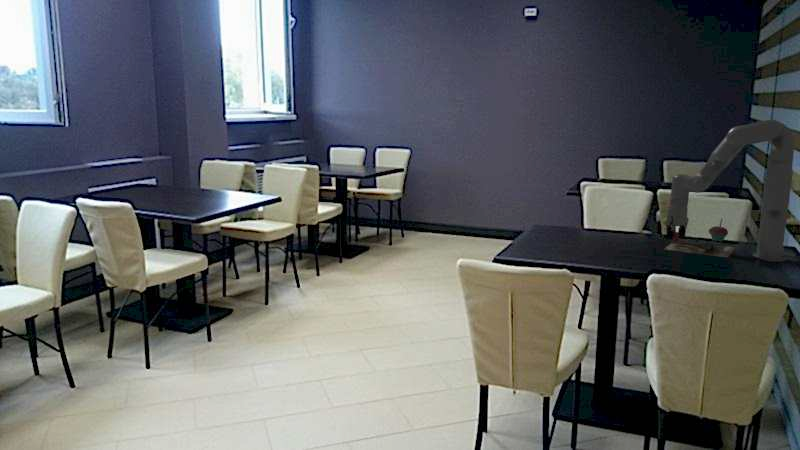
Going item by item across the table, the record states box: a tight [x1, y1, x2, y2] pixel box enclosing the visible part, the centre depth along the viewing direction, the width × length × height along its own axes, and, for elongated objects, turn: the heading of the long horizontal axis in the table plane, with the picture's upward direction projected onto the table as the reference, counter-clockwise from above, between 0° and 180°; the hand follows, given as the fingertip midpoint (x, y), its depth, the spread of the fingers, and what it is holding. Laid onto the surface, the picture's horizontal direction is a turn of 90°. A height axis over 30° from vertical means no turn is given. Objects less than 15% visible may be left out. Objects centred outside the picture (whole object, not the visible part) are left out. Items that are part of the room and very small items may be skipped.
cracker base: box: [664, 238, 736, 258], centre depth 277 cm, size 26×24×3 cm
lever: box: [670, 231, 725, 250], centre depth 277 cm, size 22×5×6 cm, turn 55°
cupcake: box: [708, 218, 729, 243], centre depth 298 cm, size 9×8×12 cm
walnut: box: [701, 242, 711, 252], centre depth 269 cm, size 4×4×4 cm
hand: (675, 237), depth 283 cm, fingers open, 9 cm apart
